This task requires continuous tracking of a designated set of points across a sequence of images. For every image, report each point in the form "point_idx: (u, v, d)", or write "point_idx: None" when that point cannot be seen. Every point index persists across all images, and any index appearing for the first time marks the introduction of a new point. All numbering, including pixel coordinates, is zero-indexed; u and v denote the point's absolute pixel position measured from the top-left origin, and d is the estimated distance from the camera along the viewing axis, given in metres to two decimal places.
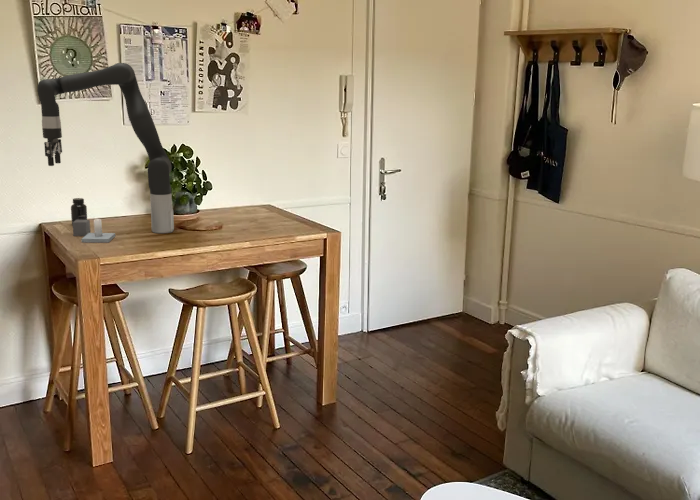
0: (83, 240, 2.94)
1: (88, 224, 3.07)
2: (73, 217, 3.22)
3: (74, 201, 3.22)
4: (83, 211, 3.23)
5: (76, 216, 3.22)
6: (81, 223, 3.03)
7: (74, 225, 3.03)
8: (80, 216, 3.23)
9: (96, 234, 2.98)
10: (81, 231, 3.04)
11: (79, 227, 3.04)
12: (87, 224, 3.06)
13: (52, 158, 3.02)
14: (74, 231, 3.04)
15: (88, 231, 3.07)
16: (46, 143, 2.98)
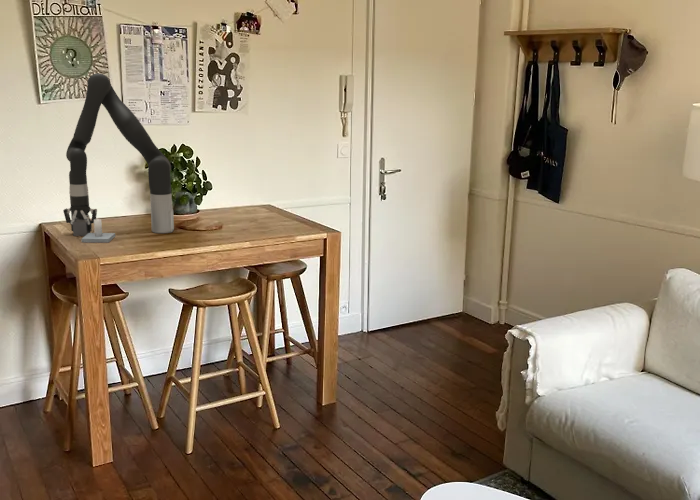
0: (83, 240, 2.94)
1: None
2: None
3: None
4: None
5: None
6: (81, 223, 3.03)
7: (74, 225, 3.03)
8: None
9: (96, 234, 2.98)
10: (81, 231, 3.04)
11: (79, 227, 3.04)
12: None
13: None
14: (74, 231, 3.04)
15: None
16: (95, 211, 3.05)
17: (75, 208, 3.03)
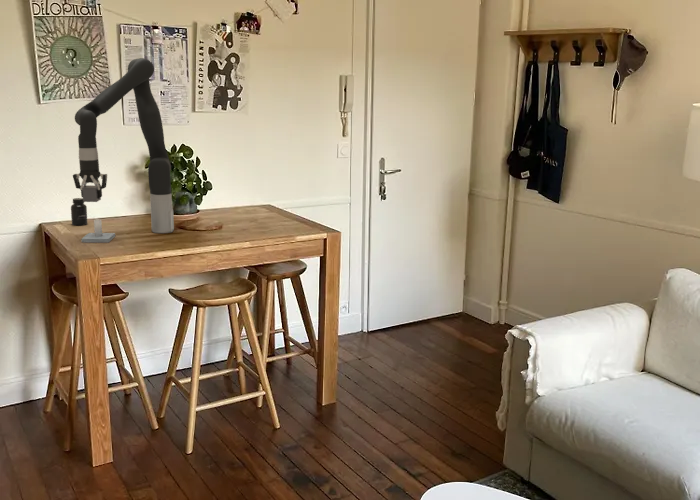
0: (83, 240, 2.94)
1: None
2: (73, 217, 3.22)
3: (74, 201, 3.22)
4: (83, 211, 3.23)
5: (76, 216, 3.22)
6: (91, 188, 2.94)
7: (84, 190, 2.94)
8: (80, 216, 3.23)
9: (96, 234, 2.98)
10: (91, 197, 2.95)
11: (89, 193, 2.95)
12: None
13: None
14: (84, 197, 2.95)
15: None
16: (106, 176, 2.95)
17: (85, 173, 2.94)
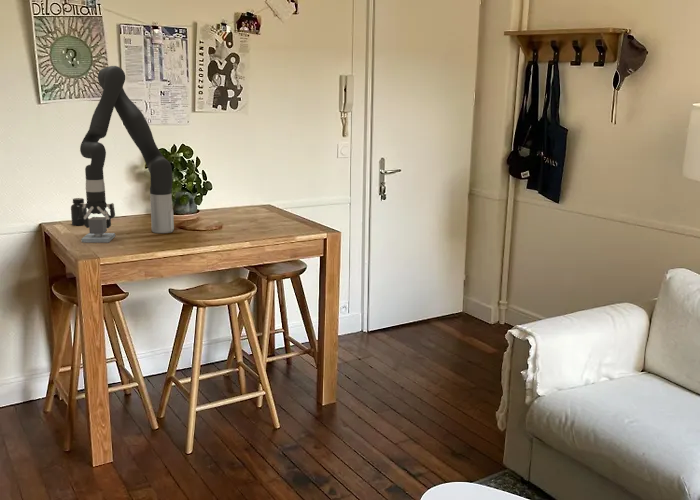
0: (83, 240, 2.94)
1: (104, 222, 2.98)
2: (73, 217, 3.22)
3: (74, 201, 3.22)
4: None
5: (76, 216, 3.22)
6: (98, 220, 2.95)
7: (90, 222, 2.95)
8: None
9: (96, 234, 2.98)
10: (97, 229, 2.96)
11: (95, 225, 2.95)
12: (104, 222, 2.98)
13: None
14: (90, 229, 2.96)
15: (104, 229, 2.99)
16: (112, 205, 2.96)
17: (91, 204, 2.95)
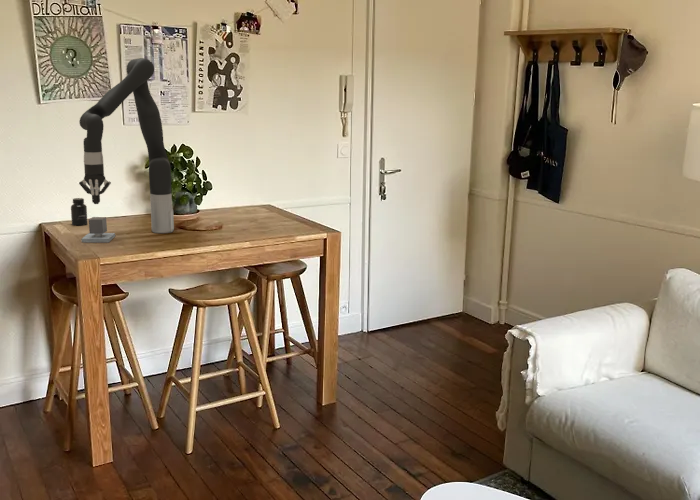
0: (83, 240, 2.94)
1: (104, 222, 2.98)
2: (73, 217, 3.22)
3: (74, 201, 3.22)
4: (83, 211, 3.23)
5: (76, 216, 3.22)
6: (97, 220, 2.95)
7: (90, 222, 2.95)
8: (80, 216, 3.23)
9: (96, 234, 2.98)
10: (97, 229, 2.96)
11: (95, 224, 2.95)
12: (104, 221, 2.98)
13: None
14: (90, 229, 2.96)
15: (104, 229, 2.99)
16: (109, 184, 2.94)
17: (89, 177, 2.92)
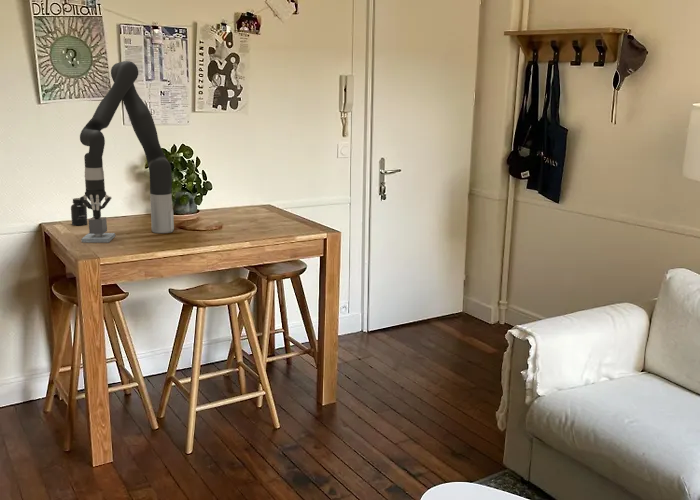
0: (83, 240, 2.94)
1: (104, 222, 2.98)
2: (73, 217, 3.22)
3: (74, 201, 3.22)
4: (83, 211, 3.23)
5: (76, 216, 3.22)
6: (97, 221, 2.95)
7: (90, 222, 2.95)
8: (80, 216, 3.23)
9: (96, 234, 2.98)
10: (97, 229, 2.96)
11: (95, 225, 2.95)
12: (104, 222, 2.98)
13: None
14: (90, 229, 2.96)
15: (104, 229, 2.99)
16: (110, 199, 2.96)
17: (90, 192, 2.94)
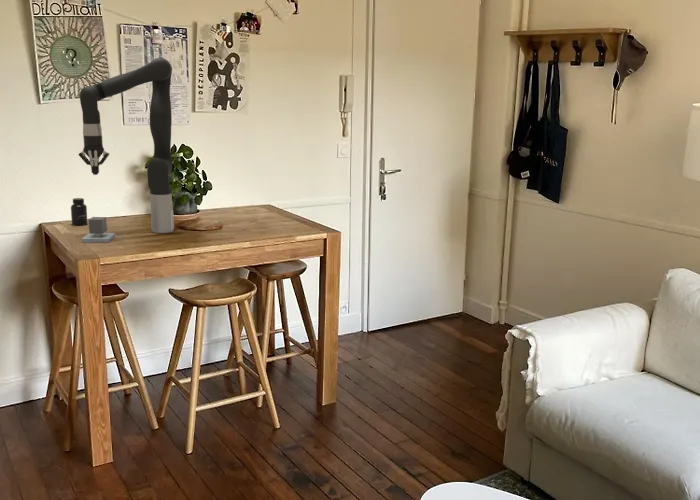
0: (83, 240, 2.94)
1: (104, 222, 2.98)
2: (73, 217, 3.22)
3: (74, 201, 3.22)
4: (83, 211, 3.23)
5: (76, 216, 3.22)
6: (97, 220, 2.95)
7: (90, 222, 2.95)
8: (80, 216, 3.23)
9: (96, 234, 2.98)
10: (97, 229, 2.96)
11: (95, 224, 2.95)
12: (104, 222, 2.98)
13: None
14: (90, 229, 2.96)
15: (104, 229, 2.99)
16: (108, 155, 3.04)
17: (89, 148, 3.02)
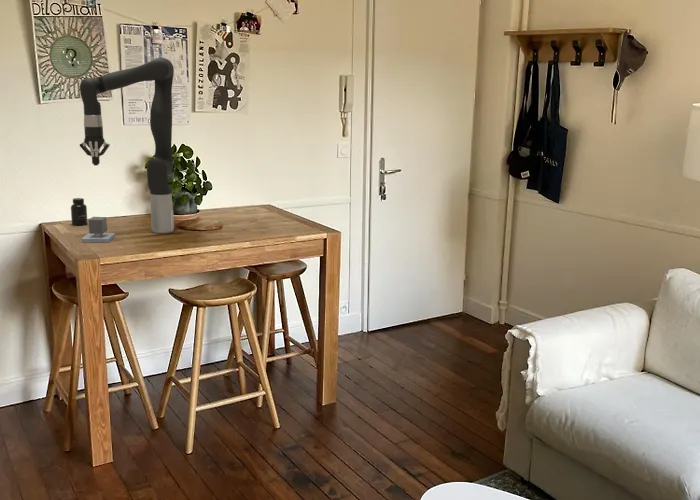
0: (83, 240, 2.94)
1: (104, 222, 2.98)
2: (73, 217, 3.22)
3: (74, 201, 3.22)
4: (83, 211, 3.23)
5: (76, 216, 3.22)
6: (97, 221, 2.95)
7: (90, 222, 2.95)
8: (80, 216, 3.23)
9: (96, 234, 2.98)
10: (97, 229, 2.96)
11: (95, 225, 2.95)
12: (104, 222, 2.98)
13: None
14: (90, 229, 2.96)
15: (104, 229, 2.99)
16: (108, 146, 3.08)
17: (89, 139, 3.06)
